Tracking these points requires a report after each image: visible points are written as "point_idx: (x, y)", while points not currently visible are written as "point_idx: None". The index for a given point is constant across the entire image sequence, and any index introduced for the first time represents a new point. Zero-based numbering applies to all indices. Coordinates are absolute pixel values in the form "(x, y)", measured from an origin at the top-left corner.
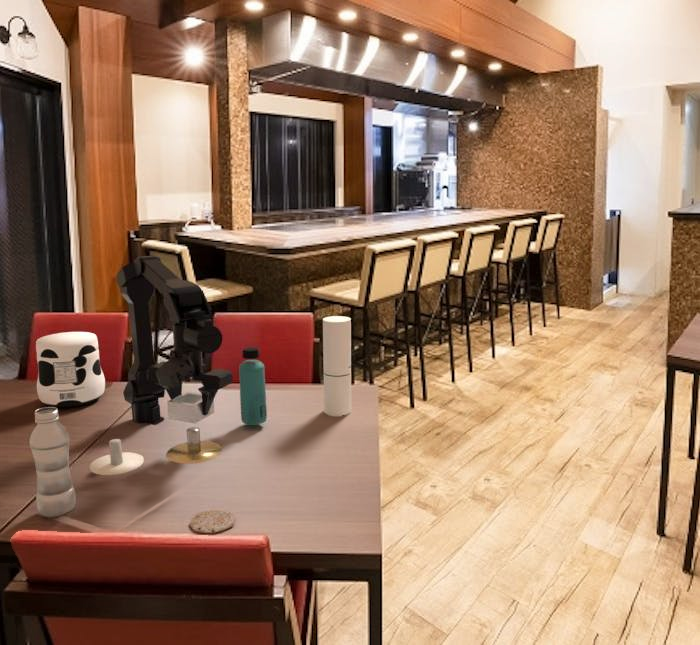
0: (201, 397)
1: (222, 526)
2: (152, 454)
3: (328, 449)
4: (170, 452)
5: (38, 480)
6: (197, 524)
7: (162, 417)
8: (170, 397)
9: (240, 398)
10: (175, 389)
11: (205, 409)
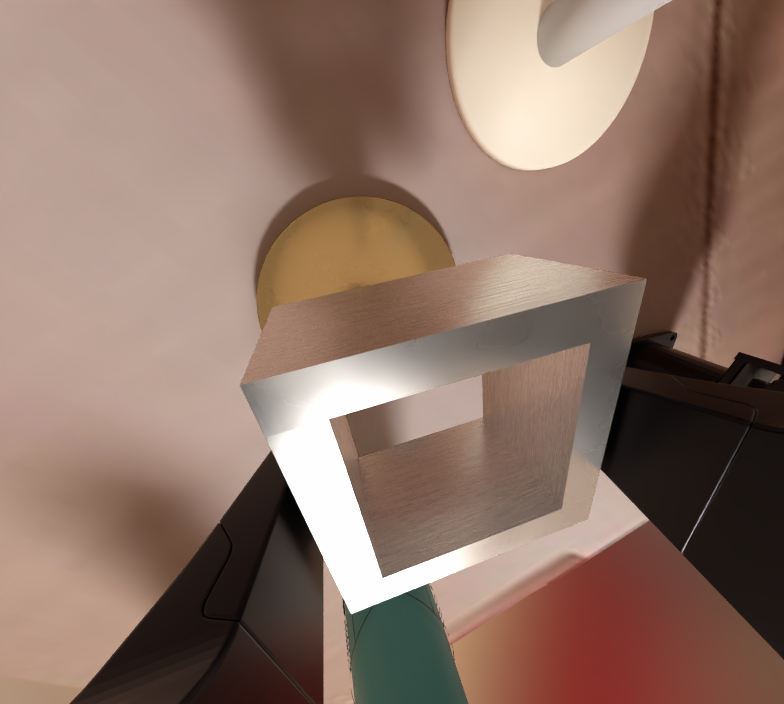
0: (433, 537)
1: None
2: (494, 222)
3: (39, 583)
4: (435, 252)
5: None
6: None
7: None
8: (657, 375)
9: (422, 594)
10: (704, 472)
11: (268, 455)
